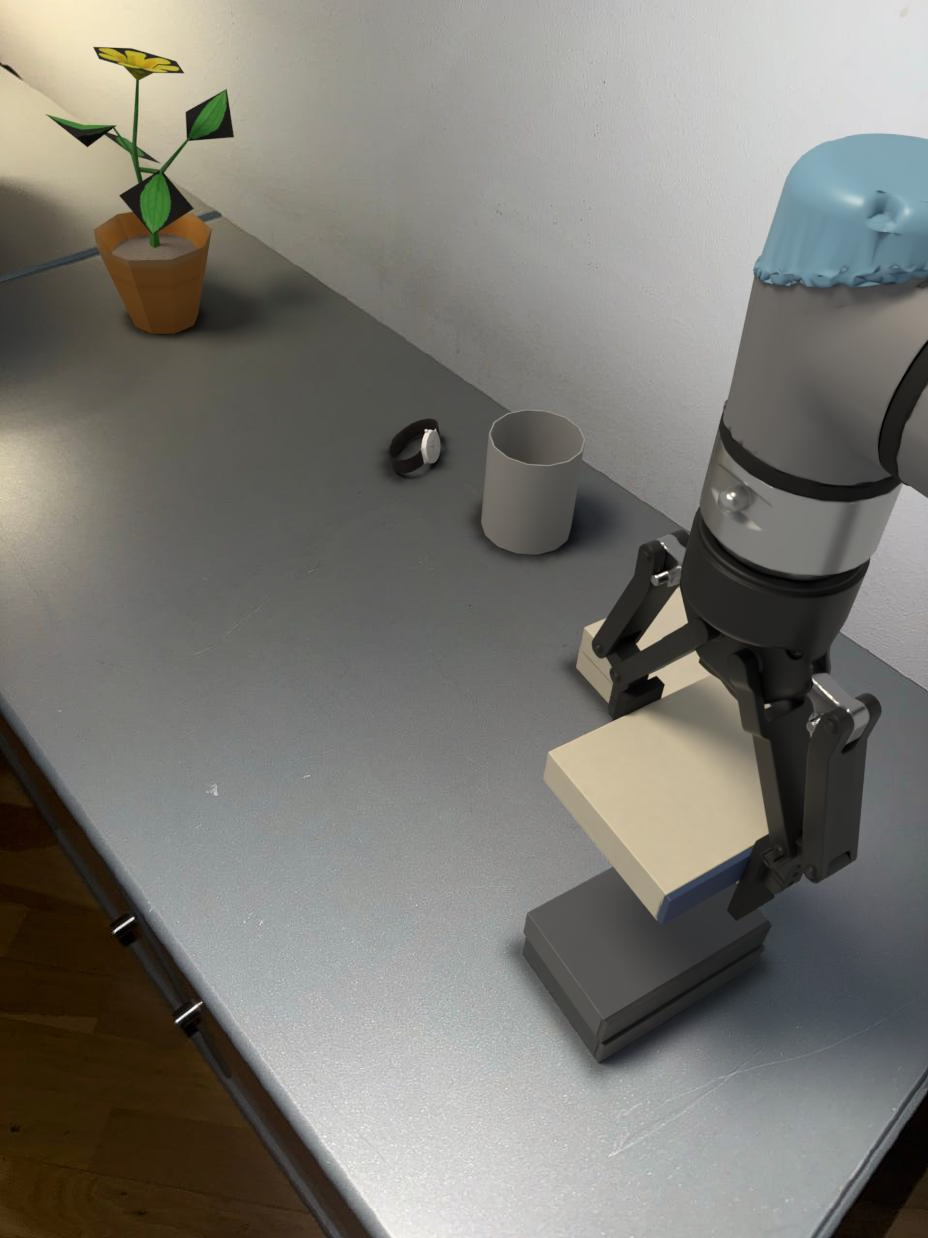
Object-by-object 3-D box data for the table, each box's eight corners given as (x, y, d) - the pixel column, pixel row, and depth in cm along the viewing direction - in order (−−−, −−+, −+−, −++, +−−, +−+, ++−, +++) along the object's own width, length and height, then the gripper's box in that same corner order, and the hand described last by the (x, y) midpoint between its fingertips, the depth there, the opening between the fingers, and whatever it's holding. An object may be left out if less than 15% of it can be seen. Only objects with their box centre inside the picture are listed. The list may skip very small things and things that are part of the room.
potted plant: (250, 356, 120) (223, 65, 99) (73, 360, 117) (6, 62, 96) (250, 277, 132) (226, 4, 111) (90, 280, 130) (34, 0, 108)
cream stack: (780, 695, 89) (797, 652, 85) (654, 757, 83) (666, 715, 80) (696, 614, 95) (709, 572, 91) (574, 668, 89) (582, 625, 86)
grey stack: (756, 964, 72) (776, 926, 68) (596, 1064, 66) (609, 1028, 63) (674, 866, 76) (688, 825, 73) (519, 952, 71) (526, 912, 68)
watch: (421, 484, 105) (422, 454, 103) (376, 471, 106) (377, 441, 104) (450, 442, 111) (452, 412, 108) (408, 430, 112) (409, 400, 109)
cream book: (846, 819, 59) (860, 791, 58) (661, 927, 54) (670, 900, 52) (720, 693, 65) (729, 665, 64) (542, 780, 60) (547, 751, 58)
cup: (463, 516, 102) (470, 427, 95) (530, 486, 106) (541, 399, 99) (520, 566, 98) (532, 477, 91) (588, 533, 102) (604, 445, 95)
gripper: (556, 414, 51) (516, 718, 67) (936, 746, 38) (775, 1031, 53) (678, 374, 54) (613, 674, 70) (1070, 669, 41) (881, 960, 56)
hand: (683, 829), depth 62 cm, fingers closed on cream book, 10 cm apart
